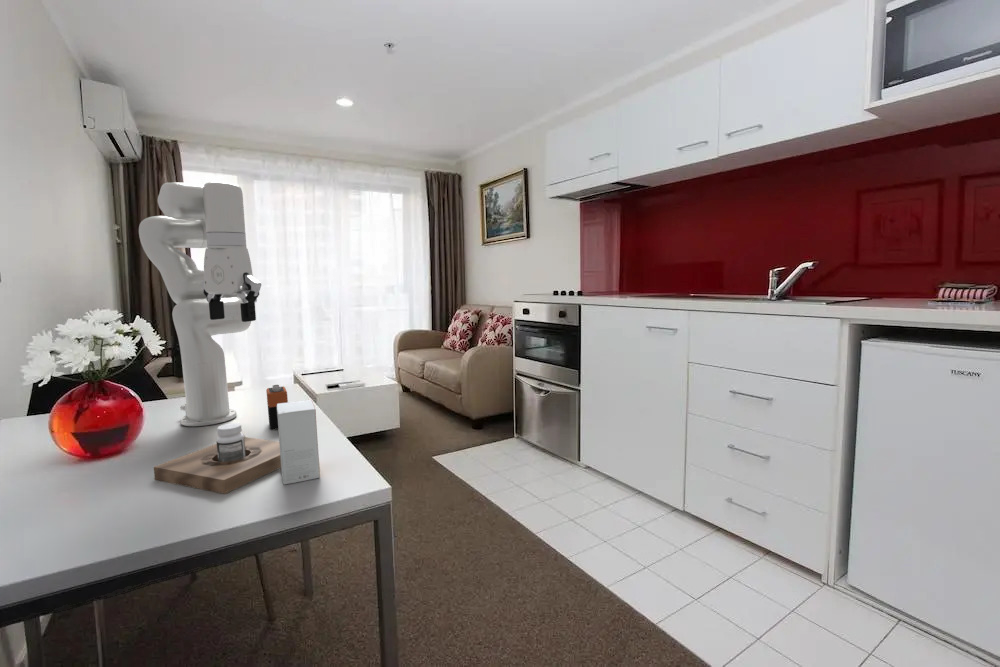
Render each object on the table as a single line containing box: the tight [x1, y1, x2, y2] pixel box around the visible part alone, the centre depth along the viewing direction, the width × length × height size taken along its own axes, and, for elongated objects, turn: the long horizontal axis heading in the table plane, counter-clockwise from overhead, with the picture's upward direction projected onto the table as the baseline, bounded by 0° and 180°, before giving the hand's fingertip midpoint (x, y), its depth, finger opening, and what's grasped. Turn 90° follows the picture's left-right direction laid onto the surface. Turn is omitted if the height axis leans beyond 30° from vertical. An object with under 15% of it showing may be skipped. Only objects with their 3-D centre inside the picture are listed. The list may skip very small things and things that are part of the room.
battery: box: [266, 384, 289, 430], centre depth 121 cm, size 4×7×10 cm, turn 28°
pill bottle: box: [215, 422, 246, 462], centre depth 95 cm, size 5×5×8 cm
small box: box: [277, 399, 321, 486], centre depth 90 cm, size 8×6×13 cm
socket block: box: [153, 436, 281, 495], centre depth 95 cm, size 18×18×2 cm
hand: (233, 320), depth 109 cm, fingers open, 9 cm apart
